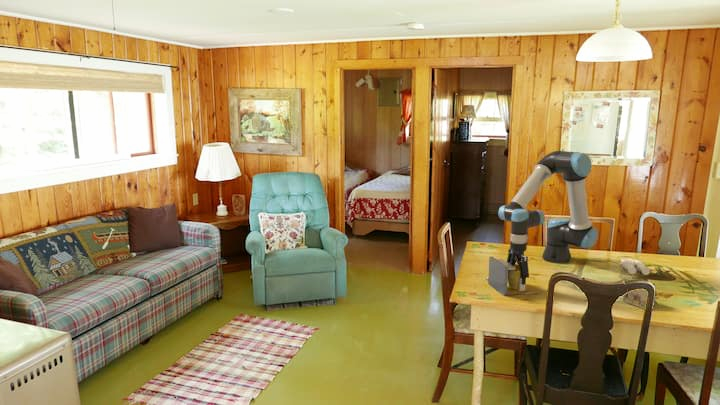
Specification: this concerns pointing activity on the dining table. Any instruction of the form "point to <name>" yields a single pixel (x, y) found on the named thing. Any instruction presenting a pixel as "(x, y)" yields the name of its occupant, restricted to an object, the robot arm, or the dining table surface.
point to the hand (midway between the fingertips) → (516, 286)
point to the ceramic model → (638, 298)
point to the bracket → (501, 276)
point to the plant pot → (514, 277)
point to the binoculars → (635, 266)
